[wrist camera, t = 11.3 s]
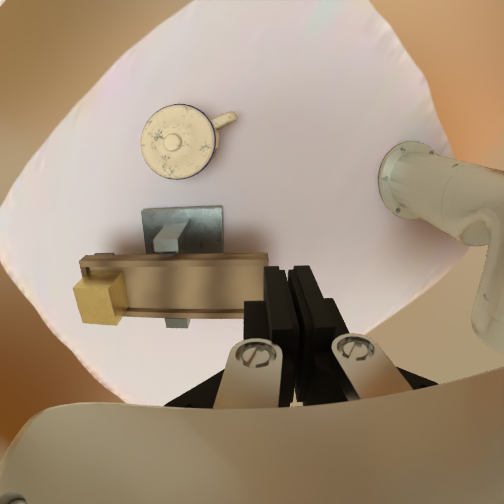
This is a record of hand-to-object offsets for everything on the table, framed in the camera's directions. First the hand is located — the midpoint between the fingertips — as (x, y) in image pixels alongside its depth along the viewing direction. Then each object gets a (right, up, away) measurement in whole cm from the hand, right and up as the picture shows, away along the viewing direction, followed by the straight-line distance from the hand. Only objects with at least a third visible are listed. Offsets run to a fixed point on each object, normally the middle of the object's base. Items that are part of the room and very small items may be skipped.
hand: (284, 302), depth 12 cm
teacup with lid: (-9, +18, +31) cm, 37 cm away
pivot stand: (-12, +2, +37) cm, 39 cm away
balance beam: (-11, -1, +29) cm, 32 cm away
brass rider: (-20, -3, +27) cm, 34 cm away
